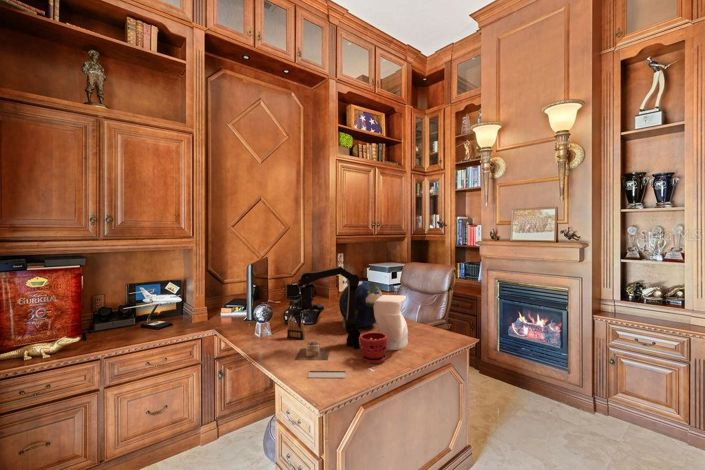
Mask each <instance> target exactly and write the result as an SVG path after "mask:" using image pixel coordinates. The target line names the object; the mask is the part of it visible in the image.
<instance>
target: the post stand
mask: <svg viewBox="0 0 705 470" xmlns="http://www.w3.org/2000/svg"><path fill="white" fill-rule="evenodd" d="M310 342H311V345H315V342H316V341H310ZM330 351H331V347H328V348H324V347H323V348H321V347H320V353H319V356H306V347H305V348H304V347H300V348H299V350H298V352H297V354H296V355H295V358H294V361H329V357H330Z"/></svg>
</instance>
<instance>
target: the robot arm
mask: <svg viewBox="0 0 705 470" xmlns="http://www.w3.org/2000/svg"><path fill="white" fill-rule="evenodd" d="M339 275H340V276H342V277H343V278H345V279H346V284H347V286H348V304H347V316H346V319H344V318H343V317H342V327H343V330H344V331H345V332H346V334H347V337H346V347H349V348H353V349H355V350H359V349H360V350H361V345H360V336H361V333H360V331H359V330H358V329H357V327H356V322H355V317H354V316H355V301H356V290H357V288H358V285H359V281H360V276H359V275H357V274H355V273H353V272H349V271H347V270H346V269H345V268H344V267H343V266H337V267H332V268H329V269H328V268H327V269H323V270H318V271H303V272H302V273H300V278H299V279H298V281H297V283H286V289H285V291H286V298H298V296H300V297H299V301H298V300H297V299H295V300H292V302H291V306H292V308H289V309H288V315H289V316H291V317H292V318H293V319H294V318H295V323H296V322H297V325H298V328H300V326H301V321H302V315H301V313H305V312H310V311H311V312H312V323H313V325H316V323H317V321H318V318H319V316H320V315H321V313H322V312H323V311H325V306H324V305H323V304H321V303H313V301H314V298H313V294H312V293H313V291H312V289H313V288H316V285H315V284H314V282H316V281H317V280H320V279H325V278H329V277H333V276H339ZM347 286H346V287H347Z"/></svg>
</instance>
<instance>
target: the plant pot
mask: <svg viewBox="0 0 705 470" xmlns="http://www.w3.org/2000/svg"><path fill="white" fill-rule="evenodd" d="M379 338H380V339H379ZM359 346H360V350H361V353H362V360H363V361H364V362H365V363H367V364H381V363H384V362H385V361H386V359H387V355H386V352H387V350H386V348H387V336H386V335H385V334H383V333H378V331H376V332H375V331H374V332H366V333H362V334H360V337H359Z"/></svg>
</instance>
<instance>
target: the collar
mask: <svg viewBox="0 0 705 470" xmlns="http://www.w3.org/2000/svg"><path fill="white" fill-rule="evenodd" d="M311 342H312V341H308V342H307V344H306V347H305V348H306V356H319V353H320V348H321V342H320V341H314V342H315V345H311Z"/></svg>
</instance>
